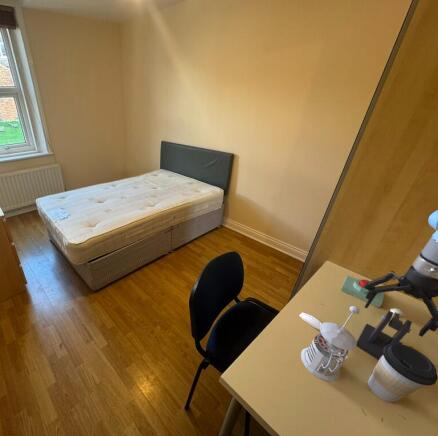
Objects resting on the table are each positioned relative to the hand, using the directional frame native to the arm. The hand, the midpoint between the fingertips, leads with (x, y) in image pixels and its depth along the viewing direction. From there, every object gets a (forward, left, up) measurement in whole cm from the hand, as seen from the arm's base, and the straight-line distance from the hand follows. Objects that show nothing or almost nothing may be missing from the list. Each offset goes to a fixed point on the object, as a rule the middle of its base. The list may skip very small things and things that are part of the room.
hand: (392, 319), depth 78 cm
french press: (+33, +9, -4) cm, 34 cm away
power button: (-5, -14, 0) cm, 15 cm away
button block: (-5, -14, -4) cm, 15 cm away
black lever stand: (+10, +6, -4) cm, 12 cm away
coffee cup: (+21, +17, -4) cm, 27 cm away
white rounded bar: (+25, -4, -4) cm, 26 cm away
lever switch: (+6, +3, +4) cm, 8 cm away
